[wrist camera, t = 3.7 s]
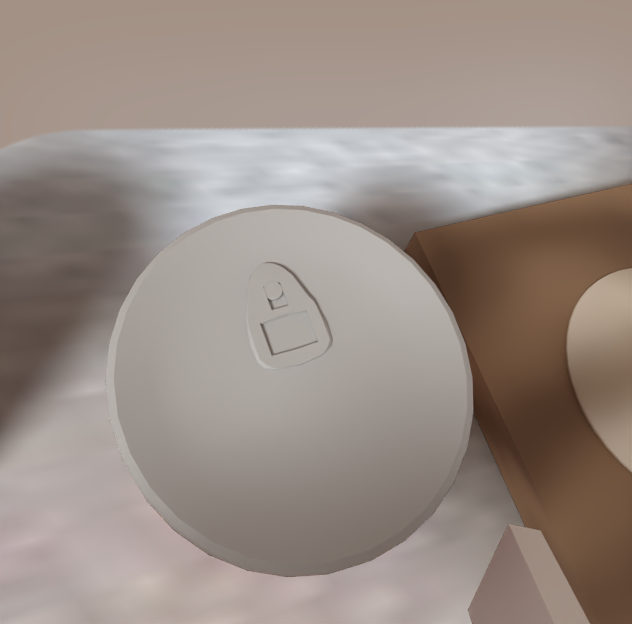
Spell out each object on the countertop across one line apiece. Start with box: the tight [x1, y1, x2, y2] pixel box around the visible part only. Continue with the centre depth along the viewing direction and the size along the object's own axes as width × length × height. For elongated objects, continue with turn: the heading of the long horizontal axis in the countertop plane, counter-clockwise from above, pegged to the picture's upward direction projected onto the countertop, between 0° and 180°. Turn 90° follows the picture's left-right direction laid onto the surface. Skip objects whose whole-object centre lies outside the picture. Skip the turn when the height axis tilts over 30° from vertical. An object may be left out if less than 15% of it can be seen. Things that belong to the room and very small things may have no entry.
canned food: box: [105, 205, 473, 577], centre depth 15 cm, size 8×8×11 cm
